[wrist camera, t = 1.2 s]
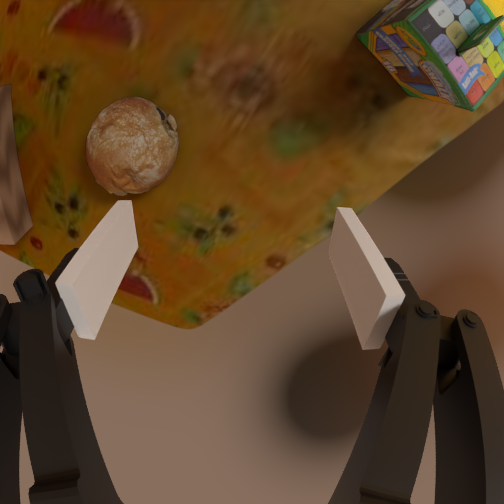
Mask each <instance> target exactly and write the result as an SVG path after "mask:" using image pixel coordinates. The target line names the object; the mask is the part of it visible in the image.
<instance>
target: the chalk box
mask: <svg viewBox="0 0 504 504" xmlns="http://www.w3.org/2000/svg"><path fill="white" fill-rule="evenodd" d="M503 20H504V16H503V15H502V16H499V17H497V18H495V16H494V15H493V13H492V12H491V10H490V9H489V7H488V6H487V5H486V4H485V3H484V2H483V1H482V0H393V1H392V2H390V3H389V4H388V5H387V6H386V7H384V8H383V9H382V10H381V11H380V12H379V13H378V14H377V15H376V16H374V17H373V18H372V19H371V20H370V21H368V22H367V23H366V24H365V25H364V26H363V27H362V28H361V29H360V30H359V31H358V32H357V33H356V36H357V38H358V39H359V40H360V41H361V42H362V43H363V44H364V45H365V46H366V47H367V48H368V49H369V50H370V52H371V53H372V54H373V55H374V56H375V57H376V58H377V59H378V60H379V62H380V63H381V64H382V65H383V66H384V67H385V69H386V70H387V71H388V72H389V73H390V74H391V75H392V77H393V78H394V79H395V80H396V81H397V83H398V84H399V85H400V86H401V87H402V89H403V90H404V91H405V92H406V94H407V95H408V96H410V97H417V98H422V99H426V100H431V101H436V102H440V103H445V104H449V105H452V106H456V107H459V108H463V109H466V110H470V111H473V112H474V111H475V110H476V109H477V108H478V106H479V105H480V104H481V103H482V102H483V101H484V100H485V99H486V98H487V96H488V95H489V94H490V93H491V92H492V90H493V89H494V88H495V87H496V86H497V84H498V83H499V82H500V80H501V79H502V78H503V76H504V33H503V31H502V30H501V26H500V23H501V22H502V21H503Z"/></svg>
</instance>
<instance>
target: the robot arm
mask: <svg viewBox="0 0 504 504" xmlns="http://www.w3.org/2000/svg"><path fill="white" fill-rule="evenodd" d="M137 249H138V242H137V236H136V229H135V222H134V215H133V208H132V200H118V201H117V202H116V203H115V204H114V206H113V207H112V208H111V209H110V210H109V212H108V213H107V214H106V215H105V217H104V218H103V219H102V220H101V221H100V223H99V224H98V225H97V226H96V228H95V229H94V230H93V232H92V233H91V234H90V235H89V237H88V238H87V239H86V241H85V242H84V243H83V245H82V246H81V247H80V248H74V249H73V250H72V251H70V252H69V253H68V254H66V255H65V257H64V258H63V259H62V261H61V263H59V265H58V266H57V269H55V270H54V272H53V273H52V274H51V276H50V277H49V279H48V280H47V282H46V279H45V277H44V274H43V272H42V271H41V270H40V269H31V270H27V271H25V272H23V273H22V274H20V275H19V276H18V277H17V278H16V279H15V281H14V283H13V286H14V287H15V290H16V292H17V294H18V296H19V299H20V301H21V302H16V303H10V304H9V302H8V300H7V298H6V296H5V295H3V294H0V346H1V345H2V347H3V351H2V353H0V504H20V489H19V449H20V432H21V420H22V410H23V419H24V426H25V433H26V439H27V445H28V450H29V456H30V461H31V465H32V470H33V474H34V480H35V483H34V485H33V486H32V487H31V488H29V500H30V504H123V503H122V501H121V500H120V498H119V497H118V495H117V493H116V491H115V488H114V486H113V483H112V481H111V478H110V476H109V473H108V471H107V468H106V465H105V463H104V460H103V457H102V454H101V452H100V448H99V445H98V442H97V439H96V436H95V433H94V430H93V426H92V423H91V419H90V416H89V412H88V409H87V405H86V401H85V397H84V393H83V389H82V384H81V380H80V375H79V370H78V365H77V360H76V355H75V349H74V344H73V340H72V338H71V336H70V334H71V332H72V330H73V328H74V329H75V331H76V333H77V335H78V337H79V338H85V339H91V340H95V338H96V335H97V334H98V331H99V329H100V327H101V324H102V322H103V319H104V317H105V315H106V313H107V311H108V308H109V306H110V304H111V302H112V300H113V297H114V295H115V293H116V291H117V289H118V287H119V285H120V283H121V281H122V278H123V276H124V274H125V272H126V270H127V268H128V266H129V264H130V262H131V260H132V258H133V256H134V254H135V252H136V251H137ZM328 255H329V258H330V260H331V263H332V266H333V268H334V271H335V274H336V276H337V279H338V281H339V284H340V287H341V289H342V292H343V295H344V298H345V300H346V303H347V306H348V309H349V311H350V314H351V317H352V320H353V323H354V326H355V329H356V332H357V335H358V338H359V340H360V343H361V346H362V350H366V349H379V348H380V347H381V345H382V343H383V341H384V340H385V338H386V341H387V343H388V346H389V347H388V349H387V350H386V352H385V354H384V356H383V358H382V359H381V361H380V363H379V365H380V366H381V365H382V366H381V369H380V373H379V376H378V380H377V383H376V386H375V389H374V393H373V396H372V399H371V402H370V405H369V408H368V411H367V413H366V416H365V419H364V422H363V425H362V427H361V430H360V433H359V435H358V438H357V440H356V443H355V445H354V448H353V451H352V453H351V455H350V458H349V460H348V462H347V465H346V467H345V469H344V471H343V474H342V476H341V478H340V480H339V482H338V485H337V487H336V489H335V491H334V493H333V495H332V497H331V499H330V501H329V503H328V504H411V503H410V497H411V494H412V491H413V487H414V484H415V481H416V477H417V474H418V470H419V466H420V463H421V459H422V454H423V451H424V446H425V442H426V437H427V432H428V427H429V422H430V417H431V411H432V405H433V407H434V421H435V438H436V439H435V440H436V485H435V504H504V389H503V385H502V381H501V378H500V374H499V370H498V367H497V363H496V360H495V357H494V353H493V350H492V347H491V344H490V341H489V338H488V336H487V333H486V330H485V327H484V324H483V322H482V320H481V318H480V317H479V316H478V315H477V314H476V313H474V312H472V311H470V310H460V311H459V312H458V313H457V315H456V317H455V318H450V317H445V316H441V315H440V313H439V311H438V310H437V308H436V307H435V306H434V305H432V304H431V303H429V302H427V301H424V300H420V298H419V296H418V295H417V293H416V291H415V290H414V288H413V286H412V285H411V283H410V281H409V280H408V278H407V277H406V275H405V274H404V272H403V270H402V269H401V267H400V266H399V264H397V263H396V262H395V261H394V260H393V259H391V258H383V256H382V255H381V253H380V251H379V250H378V248H377V247H376V245H375V243H374V242H373V241H372V239H371V237H370V236H369V234H368V233H367V231H366V230H365V228H364V226H363V225H362V224H361V222H360V220H359V219H358V217H357V216H356V214H355V213H354V211H353V210H352V209H351V208H342V207H337V210H336V216H335V221H334V226H333V231H332V235H331V241H330V245H329V250H328ZM460 364H461V368H460Z"/></svg>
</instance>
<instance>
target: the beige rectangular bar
mask: <svg viewBox="0 0 504 504" xmlns="http://www.w3.org/2000/svg"><path fill="white" fill-rule="evenodd" d="M32 226H33V223H32V219H31V216H30V212H29V208H28V204H27V200H26V195H25V191H24V186H23V182H22V177H21V172H20V166H19V161H18V155H17V148H16V141H15V134H14V125H13V115H12V102H11V84H9V85H4V86H0V244H7V245H15V244H16V243H17V242H18V241H19V240H20V238H21V237H22V236H23V235H24V234H25V233H26V232H27V231H28V230H29V229H30V228H31V227H32Z"/></svg>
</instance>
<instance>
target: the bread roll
mask: <svg viewBox="0 0 504 504" xmlns="http://www.w3.org/2000/svg"><path fill="white" fill-rule="evenodd" d="M176 128H177V124H176V121H175V119H174V117H173V116H172V115H170V114H169V115H168V116H167V115H166V114H165V113H164V112H163V111H162V110H161V109H160V108H159V107H158V106H156V105H155V104H154V103H153V102H152V101H148V100H146V99H144V98H141V97H127V98H123V99H120V100H117V101H115V102H114V103H112V104H110V105H108V106H107V107H106V108H105V109H103V110H102V111H101V112H100V114H99V115H98V116H97V117H96V119H95V121H94V122H93V124H92V126H91V129H90V131H89V134H88V136H87V139H86V146H85V147H86V159H87V163H88V166H89V168H90V170H91V171H92V173H93V175H94V177H95V182H97V183H98V184H100V185H101V186H102V187H103V188H104V189H106V190H107V191H108V192H109V193H110V194H112V193H114V194H116V195H120V196H124V195H128V193H134V194H137V193H142V192H146V191H148V190H150V189H151V188H152V187H155V186H157V185H158V184H160V183H161V182H162V181H163V180H165V179H166V178H167V176H168V175H169V174H170V172H171V170H172V168H173V165H174V163H175V160H176V157H177V152H178V146H179V141H178V134H177V132H176Z"/></svg>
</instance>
